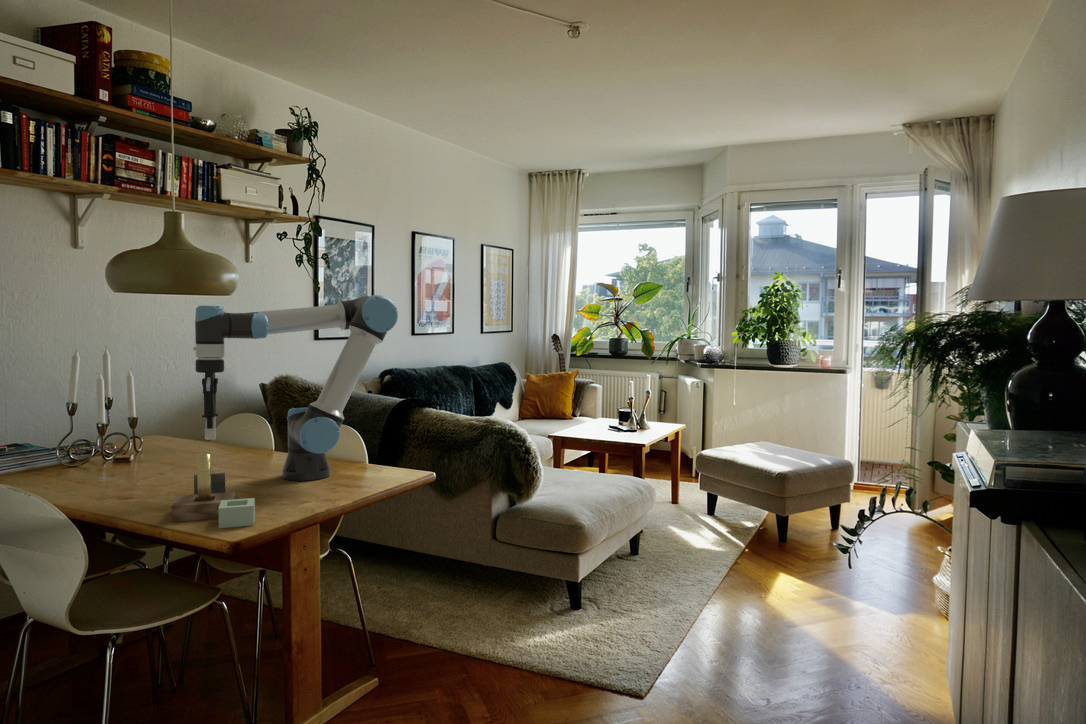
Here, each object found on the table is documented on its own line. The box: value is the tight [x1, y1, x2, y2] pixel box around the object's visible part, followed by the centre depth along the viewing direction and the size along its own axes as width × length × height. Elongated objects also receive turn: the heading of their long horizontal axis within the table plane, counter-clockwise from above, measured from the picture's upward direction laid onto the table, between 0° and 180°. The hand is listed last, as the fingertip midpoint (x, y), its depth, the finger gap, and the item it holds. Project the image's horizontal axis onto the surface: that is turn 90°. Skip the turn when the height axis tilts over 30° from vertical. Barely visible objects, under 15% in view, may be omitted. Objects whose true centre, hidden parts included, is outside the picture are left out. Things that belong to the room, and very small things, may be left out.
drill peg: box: [196, 452, 212, 501], centre depth 181 cm, size 3×3×16 cm
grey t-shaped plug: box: [193, 472, 227, 495], centre depth 191 cm, size 8×10×7 cm
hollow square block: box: [218, 497, 256, 529], centre depth 174 cm, size 8×8×5 cm
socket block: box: [171, 491, 236, 523], centre depth 182 cm, size 14×11×4 cm
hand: (210, 439), depth 200 cm, fingers closed
